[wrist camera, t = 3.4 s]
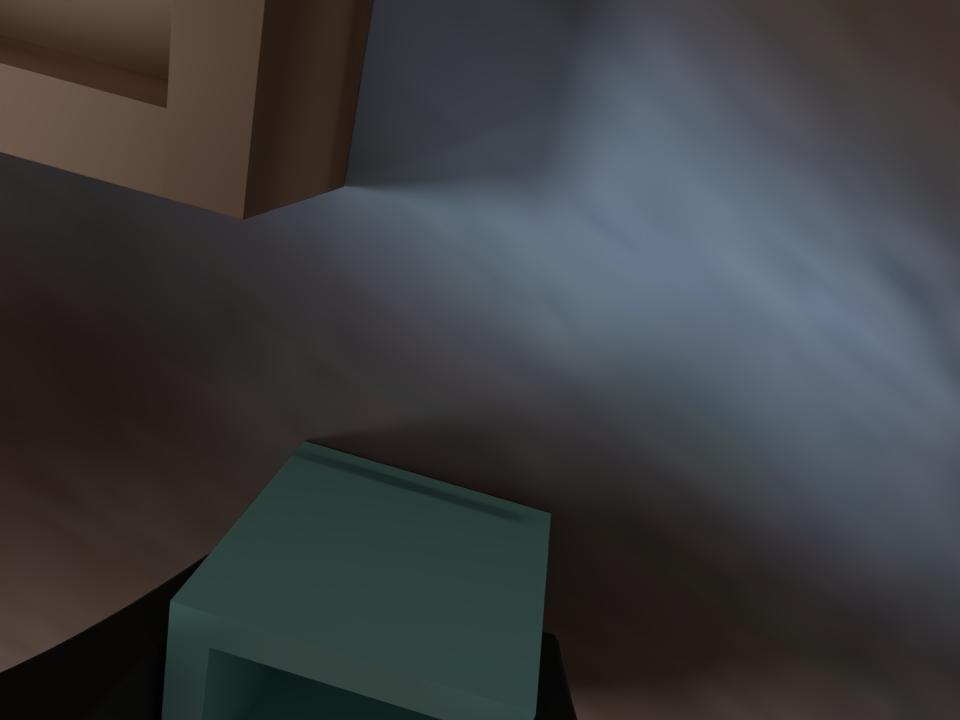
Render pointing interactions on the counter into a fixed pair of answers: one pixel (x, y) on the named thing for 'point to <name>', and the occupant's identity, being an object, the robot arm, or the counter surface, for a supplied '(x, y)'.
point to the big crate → (186, 94)
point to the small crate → (362, 602)
